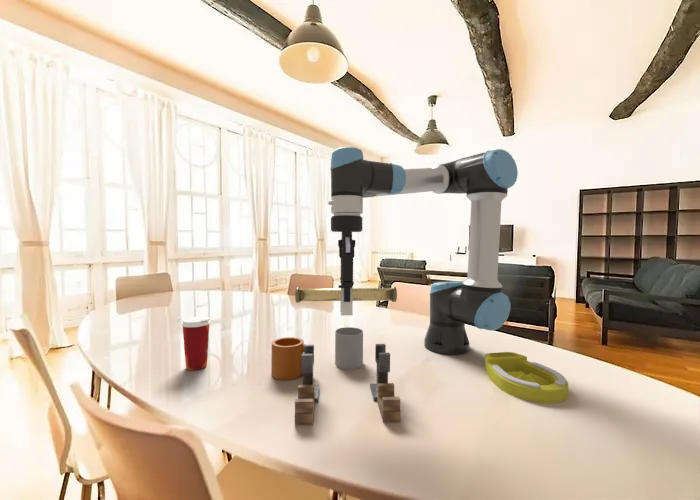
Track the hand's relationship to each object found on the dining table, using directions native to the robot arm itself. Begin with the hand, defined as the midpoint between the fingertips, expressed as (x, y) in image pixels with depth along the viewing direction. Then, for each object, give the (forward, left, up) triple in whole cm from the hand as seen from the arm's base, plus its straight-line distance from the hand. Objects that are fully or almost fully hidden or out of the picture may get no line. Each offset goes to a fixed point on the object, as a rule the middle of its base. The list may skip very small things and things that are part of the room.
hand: (346, 312), depth 77 cm
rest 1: (+9, +9, -20) cm, 24 cm away
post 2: (-9, 0, -20) cm, 22 cm away
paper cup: (+43, -19, -20) cm, 51 cm away
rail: (0, 0, +3) cm, 3 cm away
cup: (-2, -19, -20) cm, 28 cm away
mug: (+14, -12, -20) cm, 28 cm away
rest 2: (-9, +9, -20) cm, 24 cm away
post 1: (+9, 0, -20) cm, 22 cm away
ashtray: (-47, -4, -21) cm, 52 cm away
